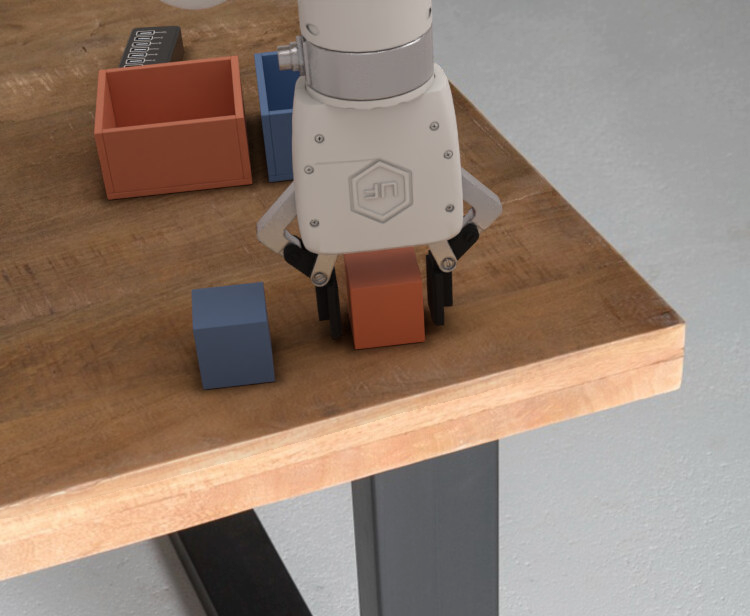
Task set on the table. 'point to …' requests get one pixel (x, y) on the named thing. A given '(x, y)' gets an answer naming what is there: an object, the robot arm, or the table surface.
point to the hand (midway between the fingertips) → (385, 318)
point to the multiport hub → (153, 46)
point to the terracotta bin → (172, 127)
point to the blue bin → (276, 113)
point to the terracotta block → (384, 297)
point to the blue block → (232, 335)
